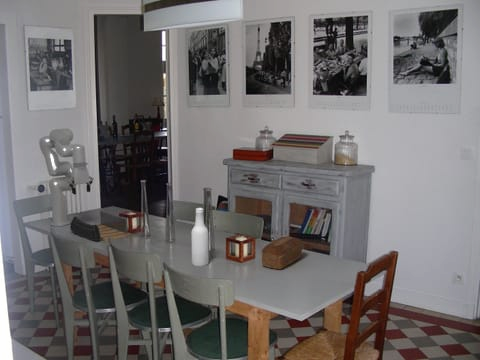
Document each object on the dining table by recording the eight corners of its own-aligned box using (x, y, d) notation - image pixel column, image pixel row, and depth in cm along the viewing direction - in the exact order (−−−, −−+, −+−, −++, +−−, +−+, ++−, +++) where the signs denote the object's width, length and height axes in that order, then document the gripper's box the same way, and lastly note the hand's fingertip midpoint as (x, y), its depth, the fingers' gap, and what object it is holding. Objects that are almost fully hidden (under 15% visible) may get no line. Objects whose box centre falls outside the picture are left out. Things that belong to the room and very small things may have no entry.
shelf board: (77, 230, 352) (77, 228, 352) (102, 225, 364) (101, 223, 364) (105, 241, 328) (105, 239, 328) (130, 235, 341) (130, 233, 340)
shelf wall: (100, 224, 361) (100, 211, 360) (102, 224, 362) (101, 210, 360) (126, 233, 340) (125, 219, 339) (127, 232, 341) (127, 218, 340)
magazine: (102, 228, 325) (76, 206, 343) (98, 229, 322) (72, 207, 340) (99, 252, 331) (74, 229, 349) (94, 253, 329) (69, 230, 347)
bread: (305, 257, 299) (306, 235, 297) (281, 272, 276) (281, 249, 274) (283, 253, 307) (283, 232, 304) (257, 267, 283) (258, 244, 281)
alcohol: (208, 260, 293) (208, 206, 288) (208, 266, 284) (207, 210, 279) (192, 261, 293) (191, 206, 287) (191, 266, 284) (190, 210, 279)
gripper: (89, 163, 342) (90, 190, 344) (63, 166, 330) (65, 194, 332) (95, 164, 337) (97, 191, 339) (69, 167, 324) (71, 195, 327)
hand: (81, 193), depth 336 cm, fingers open, 9 cm apart
